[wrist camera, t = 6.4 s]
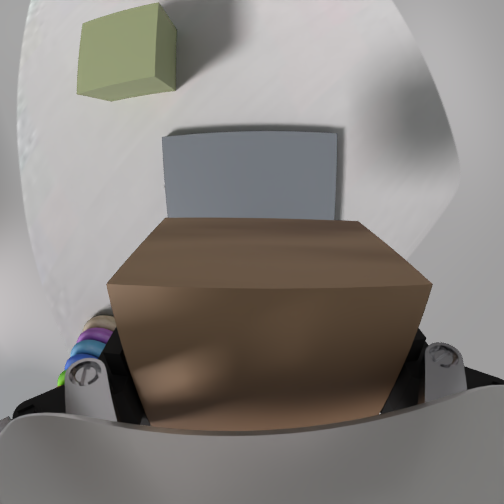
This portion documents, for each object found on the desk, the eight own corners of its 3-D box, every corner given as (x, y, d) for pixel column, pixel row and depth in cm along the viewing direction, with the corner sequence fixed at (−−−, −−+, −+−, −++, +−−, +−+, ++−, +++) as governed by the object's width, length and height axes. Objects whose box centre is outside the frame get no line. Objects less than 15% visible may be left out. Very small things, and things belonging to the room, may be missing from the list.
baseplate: (165, 137, 22) (161, 137, 21) (333, 133, 22) (336, 133, 21) (179, 288, 27) (177, 293, 26) (325, 284, 27) (328, 288, 26)
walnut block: (165, 217, 10) (106, 283, 5) (358, 221, 10) (432, 284, 5) (182, 364, 12) (164, 454, 8) (330, 363, 13) (358, 448, 8)
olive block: (113, 43, 18) (82, 23, 12) (177, 30, 18) (158, 2, 13) (111, 101, 20) (76, 94, 15) (175, 90, 20) (154, 76, 15)
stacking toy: (147, 321, 28) (84, 479, 11) (147, 371, 31) (106, 507, 14) (83, 304, 28) (-5, 431, 10) (90, 355, 30) (31, 473, 13)
